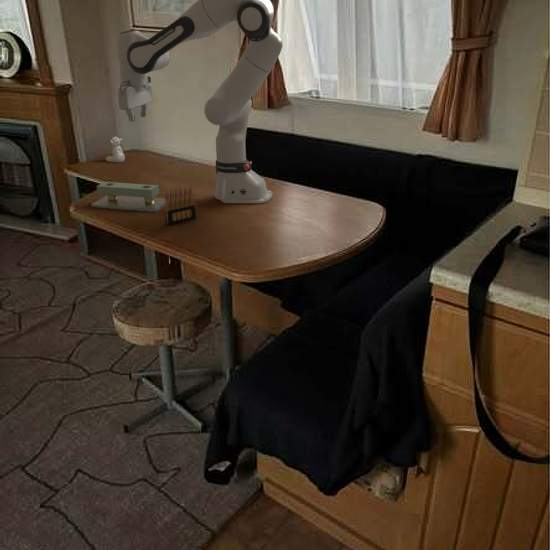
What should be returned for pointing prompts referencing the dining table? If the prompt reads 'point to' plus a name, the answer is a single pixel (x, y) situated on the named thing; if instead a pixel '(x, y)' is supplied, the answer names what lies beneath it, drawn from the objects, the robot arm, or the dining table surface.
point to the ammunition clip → (179, 207)
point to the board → (128, 189)
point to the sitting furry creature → (116, 151)
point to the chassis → (131, 203)
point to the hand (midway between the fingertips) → (138, 119)
